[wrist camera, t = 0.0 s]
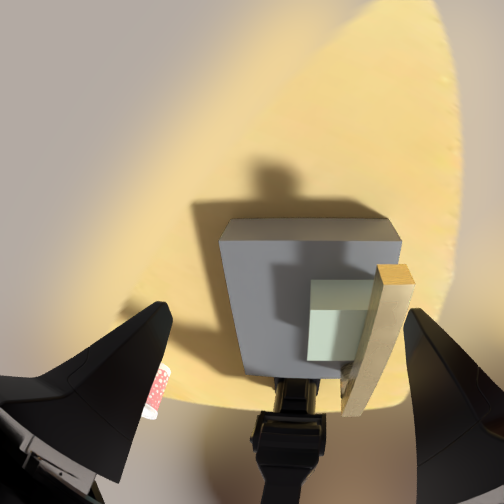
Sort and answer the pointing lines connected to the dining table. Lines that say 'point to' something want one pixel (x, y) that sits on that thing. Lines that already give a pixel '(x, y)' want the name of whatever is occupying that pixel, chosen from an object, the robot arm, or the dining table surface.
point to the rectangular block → (337, 318)
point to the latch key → (376, 336)
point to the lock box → (294, 282)
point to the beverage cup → (156, 392)
